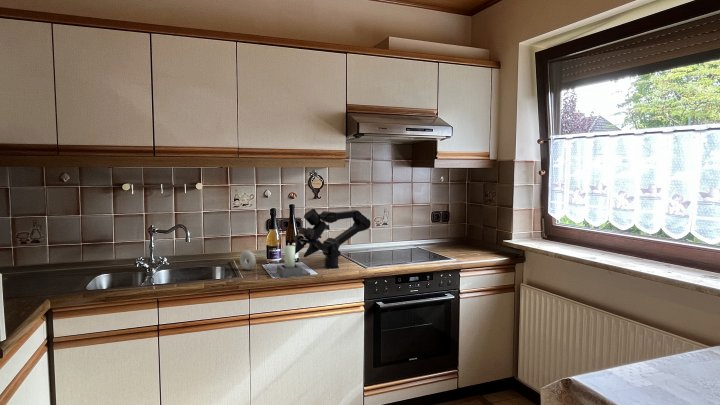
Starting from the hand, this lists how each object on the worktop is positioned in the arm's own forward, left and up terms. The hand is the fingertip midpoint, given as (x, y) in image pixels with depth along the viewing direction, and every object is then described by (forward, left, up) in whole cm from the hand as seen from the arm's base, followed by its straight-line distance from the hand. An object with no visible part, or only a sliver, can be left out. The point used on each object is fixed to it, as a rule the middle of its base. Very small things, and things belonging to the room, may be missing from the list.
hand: (298, 255), depth 224 cm
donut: (+22, -15, -9) cm, 29 cm away
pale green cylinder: (+5, +2, -8) cm, 10 cm away
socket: (+3, +1, -9) cm, 10 cm away
